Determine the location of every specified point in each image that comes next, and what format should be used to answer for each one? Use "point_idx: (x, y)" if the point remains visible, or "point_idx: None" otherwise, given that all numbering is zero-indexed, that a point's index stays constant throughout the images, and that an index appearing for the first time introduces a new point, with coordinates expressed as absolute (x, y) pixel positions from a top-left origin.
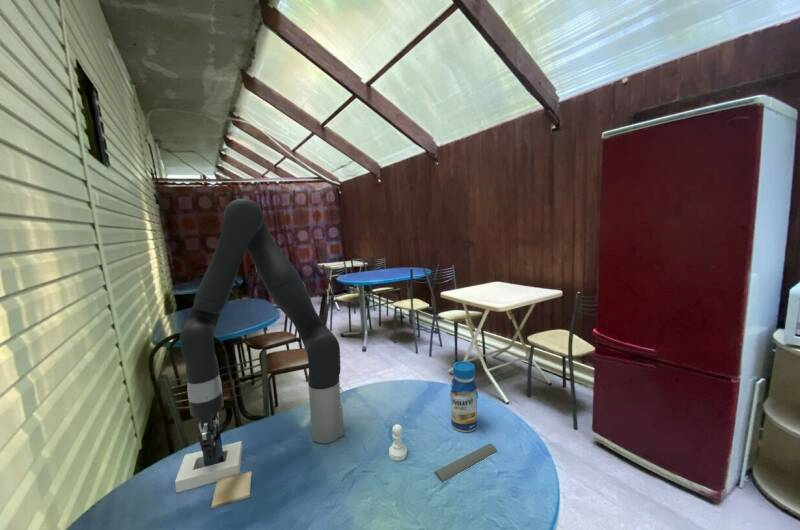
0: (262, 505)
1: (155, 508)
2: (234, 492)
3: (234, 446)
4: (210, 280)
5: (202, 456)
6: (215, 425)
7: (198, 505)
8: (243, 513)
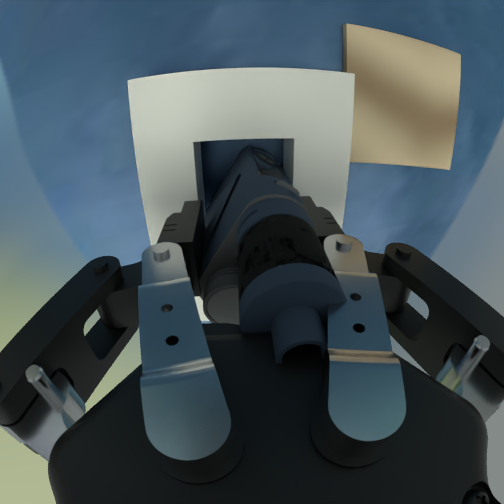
0: (489, 32)
1: None
2: (433, 97)
3: (167, 110)
4: None
5: None
6: (391, 355)
7: (411, 207)
8: (494, 83)
